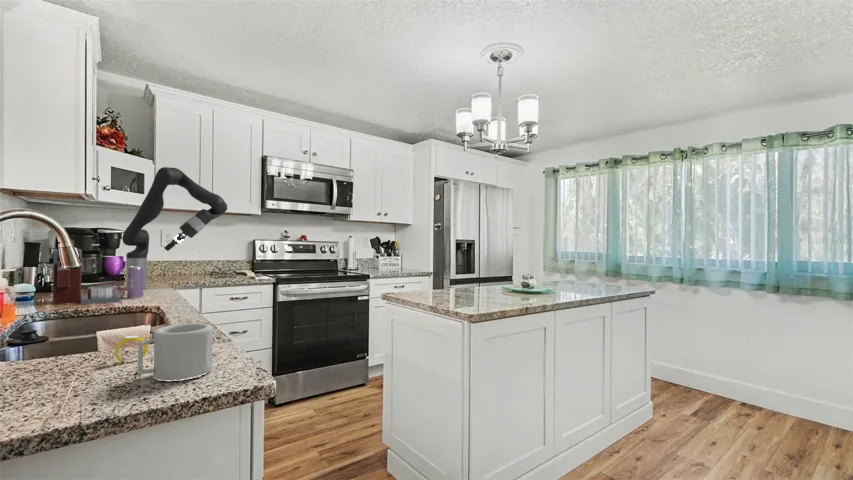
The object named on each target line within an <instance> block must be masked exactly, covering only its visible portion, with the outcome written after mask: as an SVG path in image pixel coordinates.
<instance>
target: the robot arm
mask: <svg viewBox="0 0 853 480" xmlns="http://www.w3.org/2000/svg"><path fill="white" fill-rule="evenodd" d="M168 186H179V187H181V188H184V190H186V191H187V192H188V194H189V195H190V196H191V197H192V198H193V199H194V200H197V201H198V202H200V203H202V204H205V205H208V206H209V207H210V208H209V209H205V208H203V209H200V210H199V211H198V212H197V213H195V214H194V215H193V216H192V217H190V218H189V219H188V220H187V221H185V222H184V223H183V224H181V225H180V226H179V229H180V231H181V232H180V233H179V232H178V233H177V234H175V236H174V237H173V238H172V239H171V241H170V242H169V243H168V244H166V245H165V246H164V250H165V251H167V252H169V251H170V250H171V249H172V248H174V247H175V246H177V245H178V244H181V242H184V241H185V239H186V237H188V238H191V239H192V238H194V237H195V236H196V235H197V234H198V233H200V231H202V230H203V229H204V228H205V227H206V225H208V224H209V223H210V222H211V221H213V220H215V219H216V218H218V217H221V216H222V215H224V214H225V213H226V211H228V204H227V203H226V201H225V200H224V198H223V197H221V196H220V195H219V194H217V193H214V192H211V191H210V190H207V189H206V188H204V187H203V186H201V185H199V184H198V183H196V182H195V181H194V180H193V179H191V178H190V177H189V176H188V175H186V174H185V172H184V171H182V170H181V169H179V168H177V167H168V166H163V167H161V168H159V169H158V170H157V171H156V173H155V176H154V179H153V181H152V183H151V187H150V188H149V190H148V192H147V194H146V197H145V198H144V200H143V201H142V203H141V205H140V206H139V209H138V211H137V212H136V215H135V216H134V218H133V219H132V221H131V222H130V223H129V225H128V226H127V227H126V229H125V231H123V235H122V243H123V244H124V245H125V246H131V247H133V246H134V247H135V248H134V249H133V250H131V251H129V252H127V253H126V255H125V256H126V261H125V262H126V267H125V268H126V269H125V270H126V273H125V275H126V276H125V280H126V281H125V282H126V283H125V284H126V285H125V290H127V277H128V267H130V266H143V290H145V289H147V285H148V284H147V281H148V279H147V278H148V253H149V245H150V235H149V232H148V230H147V229H144V227H145V226H146V225H148V224H149V223H151V222H153V221H154V220H155V219H156V218H158V217H159V215H160V214H161V212H162V211H163V209H164V207H165V205H164V204H165V201H164V193H165V191H166V189H167V187H168Z"/></svg>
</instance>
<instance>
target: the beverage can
mask: <svg viewBox="0 0 853 480" xmlns="http://www.w3.org/2000/svg"><path fill="white" fill-rule="evenodd" d="M126 290H127V292H126V293H127V294H126V297H127V299H129V300H135V299H136V300H138V299H142V298H143V297H144V289H143V266H130V267H128V277H127V289H126Z"/></svg>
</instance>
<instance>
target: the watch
mask: <svg viewBox="0 0 853 480" xmlns="http://www.w3.org/2000/svg"><path fill="white" fill-rule="evenodd" d="M130 341H131V342H133V341H140V343H141V342H143V341H145V340H144V339H142V338H141V337H140V336H139V335H128V336H125V337H124V339H122V340H121V341H119V342H118V343H117V345H116V347H115V349H114V356H115V358H116V360H117V361H118V362H120V361H124V360H123V359H121V358H120V356H119V349H120V348H121V346H122V345H123V344H125V343H126V342H130ZM147 352H148V344H145V345H143V358H144V357H145V356H146V354H147Z"/></svg>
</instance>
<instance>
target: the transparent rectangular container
mask: <svg viewBox="0 0 853 480" xmlns="http://www.w3.org/2000/svg"><path fill="white" fill-rule="evenodd" d="M117 287H118V286H117V285H101V286H99V285H97V286H91V287H87V294H85V295H84V296H82V297H81V303H80V305H91V304H92V305H93V304H94V303H95V304H103V303H104V304H108V303H109V302H111V303H120V301H121V298H122V292H117V289H118V288H117ZM95 304H94V305H95Z"/></svg>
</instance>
